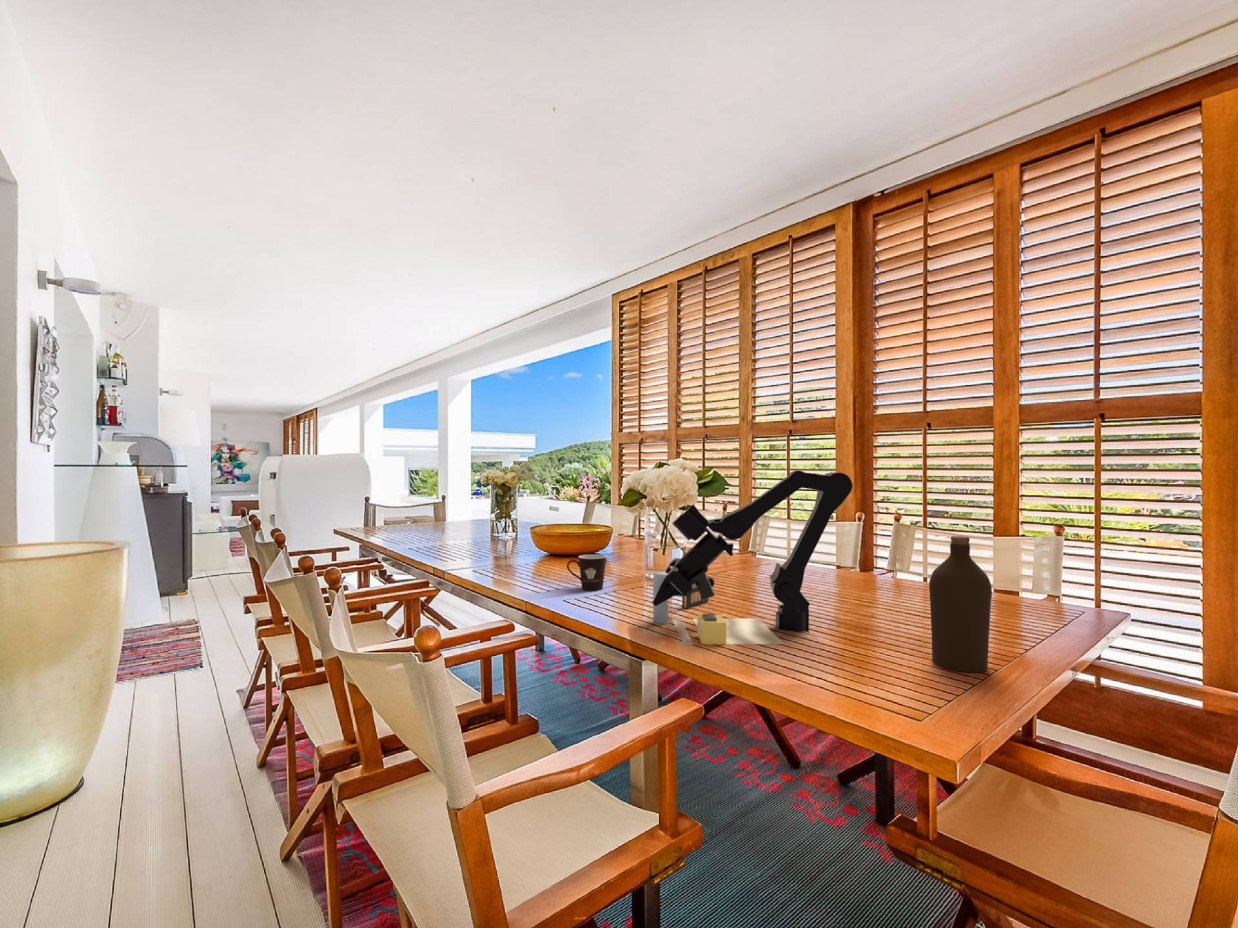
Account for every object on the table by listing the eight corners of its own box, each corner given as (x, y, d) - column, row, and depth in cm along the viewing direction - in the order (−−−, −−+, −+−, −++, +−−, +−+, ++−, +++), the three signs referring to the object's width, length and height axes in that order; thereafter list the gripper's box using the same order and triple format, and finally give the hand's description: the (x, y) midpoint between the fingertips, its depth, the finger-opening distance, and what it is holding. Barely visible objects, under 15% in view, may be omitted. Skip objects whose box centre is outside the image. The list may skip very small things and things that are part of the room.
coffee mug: (611, 587, 184) (611, 556, 184) (595, 593, 177) (596, 559, 177) (581, 583, 190) (581, 552, 190) (565, 588, 183) (565, 556, 183)
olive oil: (946, 673, 110) (947, 540, 110) (918, 655, 121) (919, 533, 121) (1004, 674, 110) (1004, 540, 110) (970, 655, 121) (971, 533, 120)
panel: (757, 624, 143) (757, 618, 143) (783, 650, 123) (783, 643, 123) (671, 624, 142) (671, 618, 142) (683, 651, 122) (683, 644, 122)
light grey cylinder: (667, 626, 141) (668, 572, 141) (669, 630, 138) (670, 575, 137) (652, 626, 141) (652, 572, 141) (653, 630, 137) (653, 575, 137)
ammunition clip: (687, 609, 158) (687, 564, 158) (681, 608, 159) (682, 563, 159) (708, 602, 166) (708, 559, 166) (702, 601, 167) (703, 558, 167)
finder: (720, 635, 129) (720, 612, 129) (726, 644, 123) (726, 619, 123) (697, 635, 129) (697, 612, 129) (702, 644, 123) (702, 619, 123)
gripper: (729, 588, 128) (678, 636, 130) (724, 572, 147) (679, 615, 148) (693, 551, 129) (642, 599, 131) (692, 540, 148) (648, 582, 149)
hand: (655, 600), depth 140 cm, fingers open, 8 cm apart
